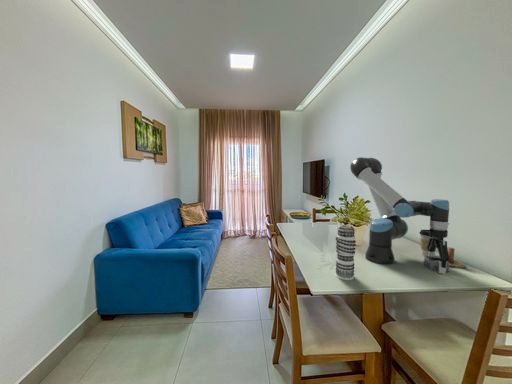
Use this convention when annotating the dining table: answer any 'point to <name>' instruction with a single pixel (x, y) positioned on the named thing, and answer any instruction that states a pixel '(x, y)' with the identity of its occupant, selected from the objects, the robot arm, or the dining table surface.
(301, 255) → the dining table surface
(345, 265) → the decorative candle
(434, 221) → the robot arm
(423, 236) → the coffee cup
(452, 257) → the keeper
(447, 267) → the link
